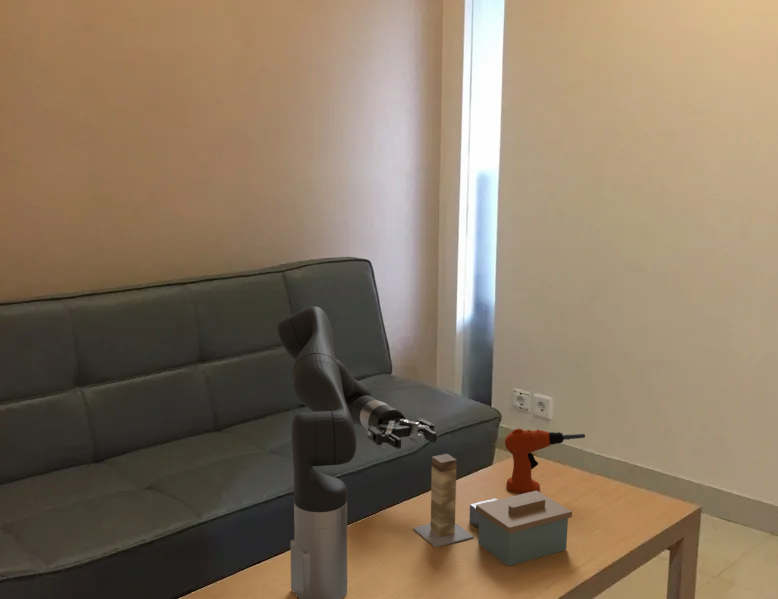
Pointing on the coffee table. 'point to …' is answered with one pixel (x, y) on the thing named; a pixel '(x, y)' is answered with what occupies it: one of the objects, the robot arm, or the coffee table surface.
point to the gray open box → (476, 513)
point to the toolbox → (523, 527)
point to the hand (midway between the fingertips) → (417, 441)
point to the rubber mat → (437, 542)
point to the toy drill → (529, 455)
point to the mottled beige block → (443, 495)
